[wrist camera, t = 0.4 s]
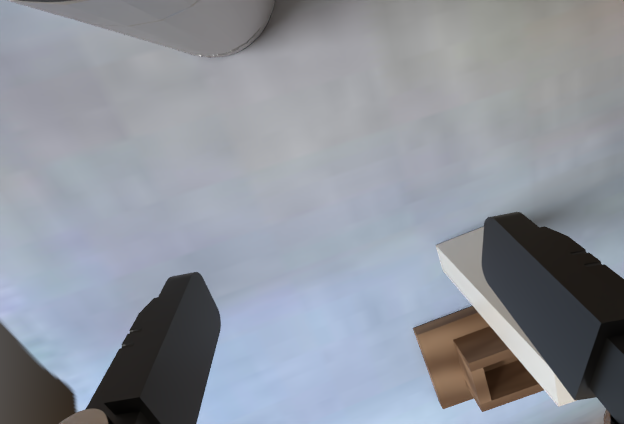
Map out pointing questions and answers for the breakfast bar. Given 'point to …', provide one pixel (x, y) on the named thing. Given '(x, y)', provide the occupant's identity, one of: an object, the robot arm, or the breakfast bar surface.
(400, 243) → the breakfast bar surface
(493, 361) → the walnut rack
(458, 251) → the clay bar
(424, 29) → the breakfast bar surface
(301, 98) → the breakfast bar surface
